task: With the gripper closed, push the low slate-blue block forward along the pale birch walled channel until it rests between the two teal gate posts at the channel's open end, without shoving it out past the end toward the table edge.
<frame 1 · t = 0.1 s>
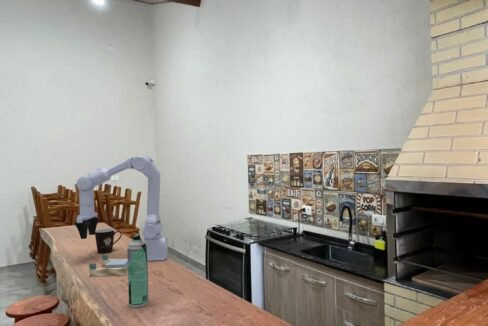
hand: (88, 236, 150), 10 cm above the counter, tool pointing down, fingers open, 7 cm apart
block: (118, 271, 135), on the counter
coffee mug: (108, 252, 164), on the counter
channel: (114, 270, 135), on the counter
spray can: (138, 304, 103), on the counter
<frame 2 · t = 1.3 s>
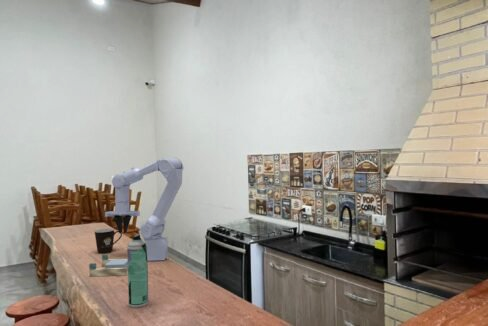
hand: (122, 232, 155), 10 cm above the counter, tool pointing down, fingers closed
nothing on the counter moved.
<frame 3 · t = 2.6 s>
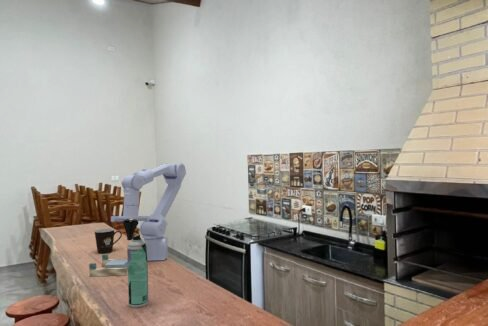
hand: (129, 239, 139), 11 cm above the counter, tool pointing down, fingers closed
nothing on the counter moved.
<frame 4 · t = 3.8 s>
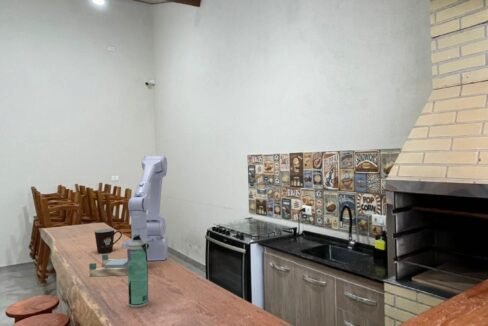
hand: (140, 263, 135), 2 cm above the counter, tool pointing down, fingers closed
nothing on the counter moved.
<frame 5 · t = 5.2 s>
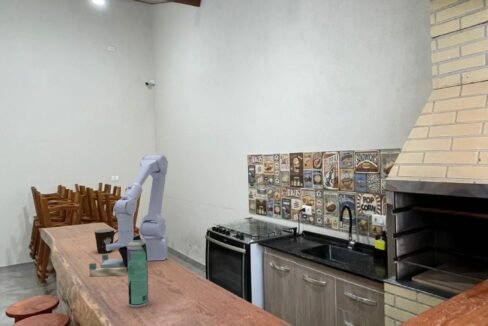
hand: (126, 266, 135), 1 cm above the counter, tool pointing down, fingers closed
block: (113, 270, 136), on the counter, touching gripper
everything else where it was.
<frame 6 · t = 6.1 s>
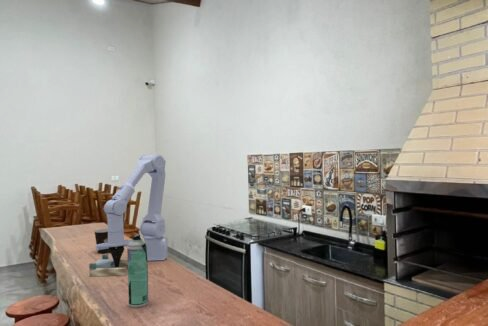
hand: (116, 266, 135), 1 cm above the counter, tool pointing down, fingers closed
block: (104, 270, 136), on the counter, touching gripper
everything else where it was.
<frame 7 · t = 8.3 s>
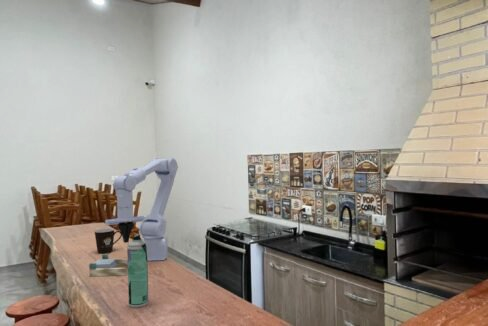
hand: (126, 242, 137), 10 cm above the counter, tool pointing down, fingers closed
block: (104, 270, 136), on the counter
everything else where it was.
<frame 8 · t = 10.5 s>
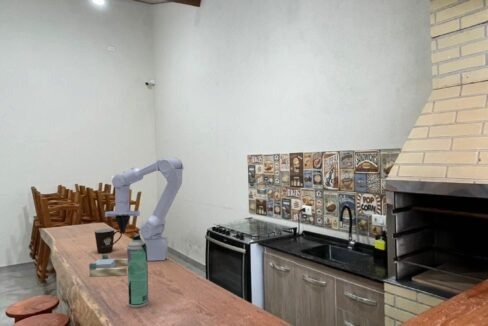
hand: (122, 232, 155), 10 cm above the counter, tool pointing down, fingers closed
nothing on the counter moved.
at the end: block inside the target area (0.8 cm from its centre), on the counter; block tilted 0°; block moved 5.7 cm from its start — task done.
